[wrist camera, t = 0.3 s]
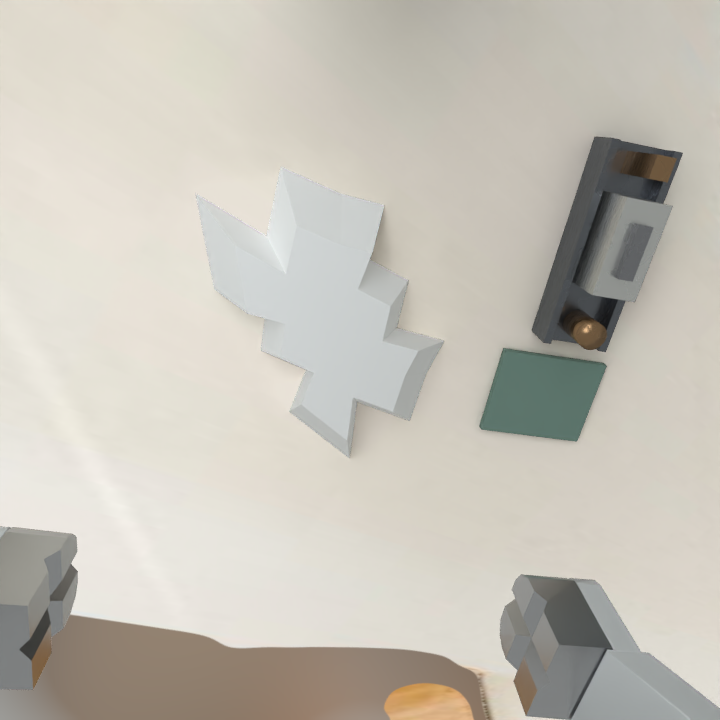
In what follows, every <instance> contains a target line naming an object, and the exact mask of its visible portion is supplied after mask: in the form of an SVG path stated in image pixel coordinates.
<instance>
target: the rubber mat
mask: <svg viewBox="0 0 720 720" xmlns="http://www.w3.org/2000/svg"><path fill="white" fill-rule="evenodd" d="M606 367H607V366H606V365H605V364H604V363H600V362H593V361H586V360H580V359H573V358H566V357H559V356H553V355H546V354H539V353H532V352H526V351H519V350H512V349H506V348H503V351H502V355H501V358H500V361H499V364H498V367H497V371H496V374H495V377H494V380H493V384H492V387H491V390H490V393H489V397H488V400H487V403H486V406H485V410H484V413H483V416H482V419H481V422H480V428H481V429H482V430H490V431H498V432H506V433H514V434H522V435H529V436H537V437H545V438H553V439H561V440H569V441H577V440H578V438H579V435H580V433H581V430H582V428H583V425H584V423H585V420H586V417H587V415H588V412H589V410H590V407H591V405H592V402H593V400H594V397H595V395H596V392H597V389H598V387H599V384H600V382H601V379H602V377H603V374H604V372H605V369H606Z"/></svg>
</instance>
